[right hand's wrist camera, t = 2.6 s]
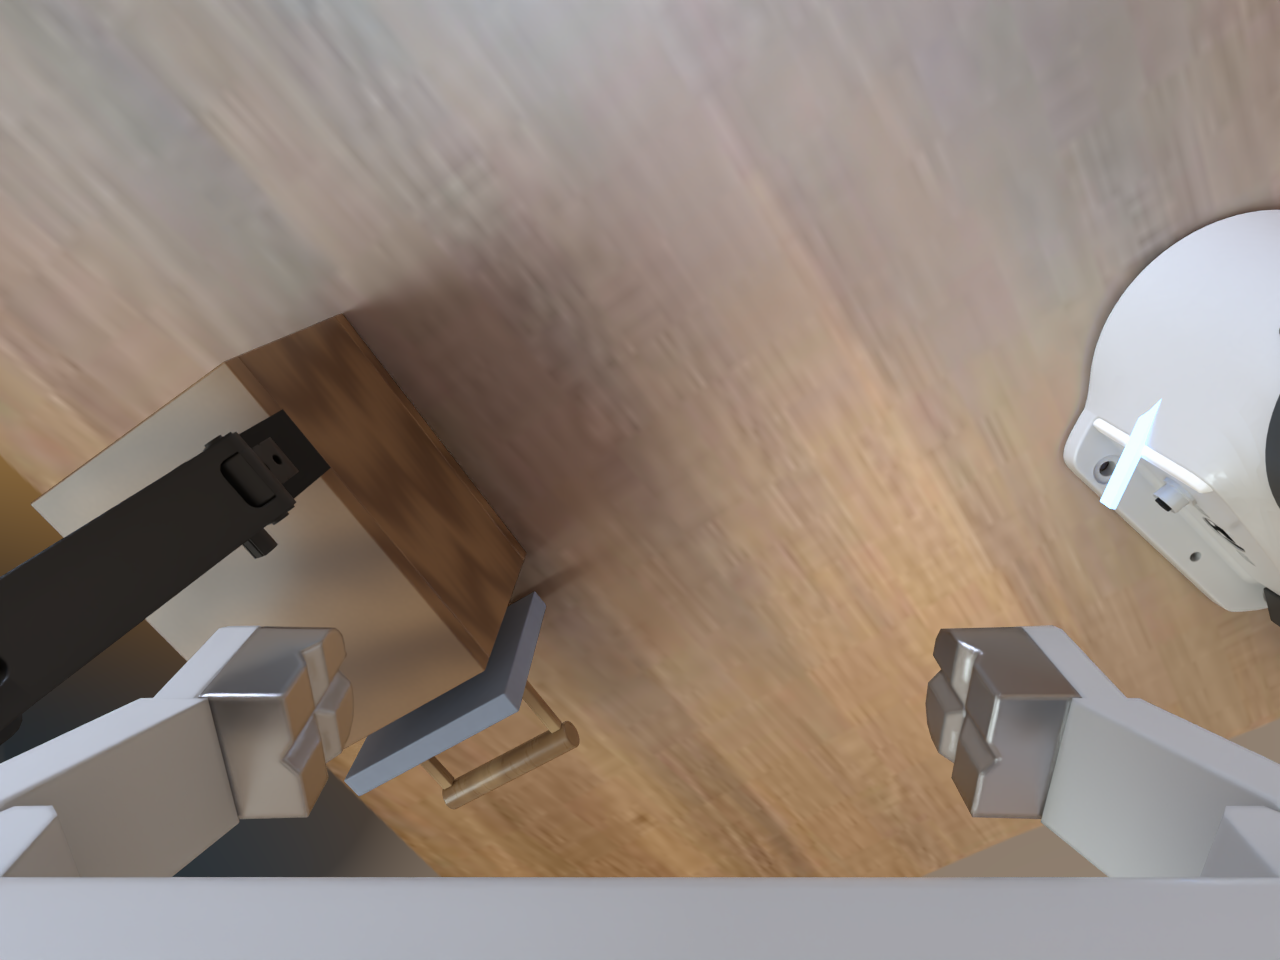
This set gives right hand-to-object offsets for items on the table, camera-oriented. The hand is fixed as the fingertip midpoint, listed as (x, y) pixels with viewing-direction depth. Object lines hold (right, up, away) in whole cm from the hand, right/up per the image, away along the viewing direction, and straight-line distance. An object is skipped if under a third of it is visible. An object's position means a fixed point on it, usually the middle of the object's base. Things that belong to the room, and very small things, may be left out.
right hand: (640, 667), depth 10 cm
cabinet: (-16, +2, +33) cm, 36 cm away
